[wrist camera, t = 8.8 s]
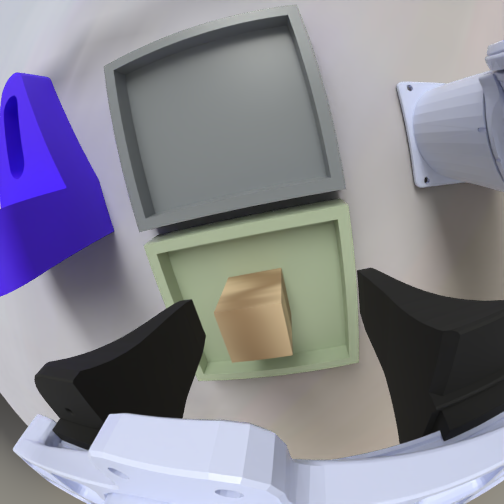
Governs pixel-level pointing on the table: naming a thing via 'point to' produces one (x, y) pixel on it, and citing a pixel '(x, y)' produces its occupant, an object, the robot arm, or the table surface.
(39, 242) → the bracket
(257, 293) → the oak block
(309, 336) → the olive bin
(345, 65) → the table surface
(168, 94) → the charcoal bin
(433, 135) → the robot arm
